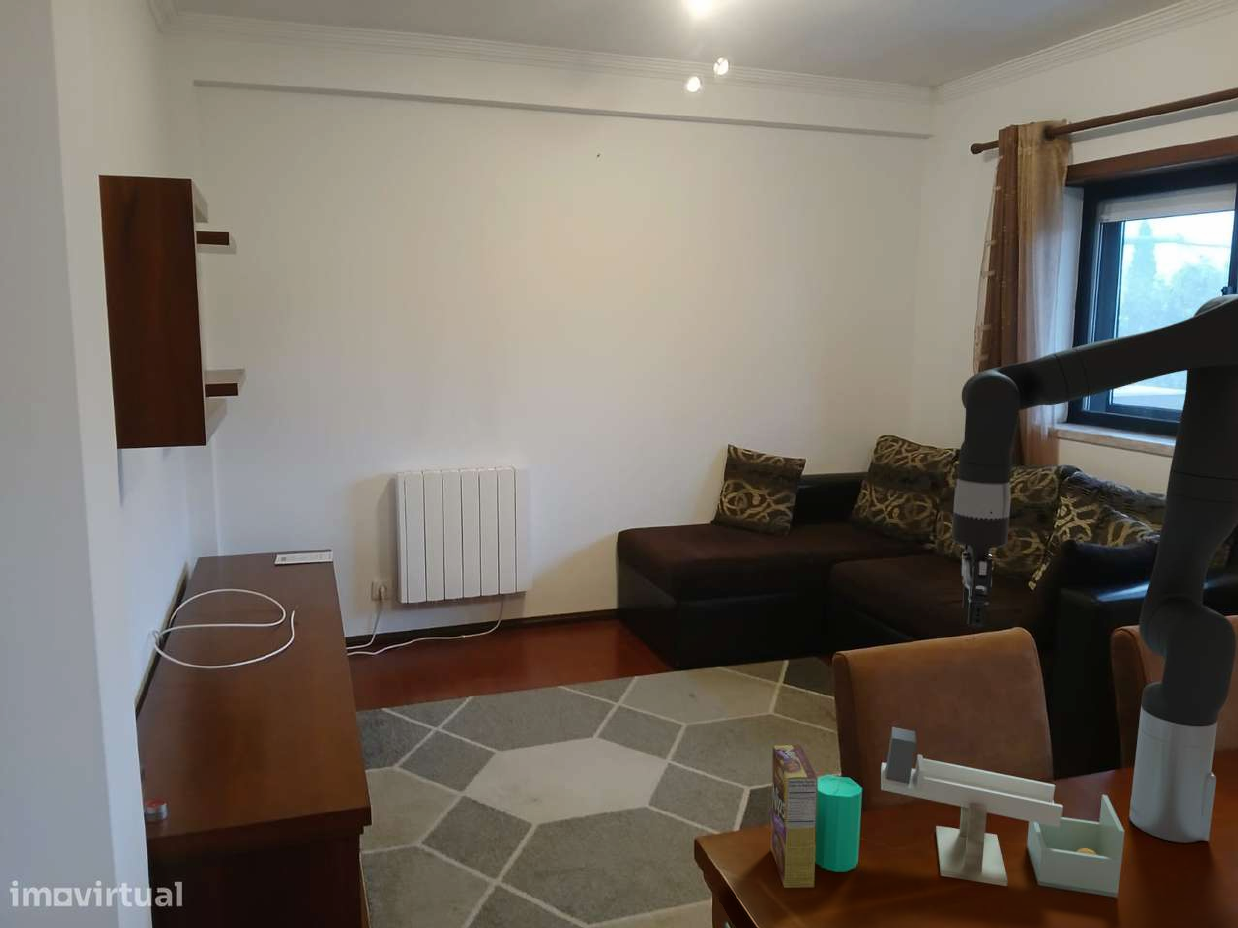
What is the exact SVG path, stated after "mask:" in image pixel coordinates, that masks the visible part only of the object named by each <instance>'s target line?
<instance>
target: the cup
mask: <svg viewBox="0 0 1238 928" xmlns="http://www.w3.org/2000/svg"><path fill="white" fill-rule="evenodd" d="M1100 802H1101V804H1100V812H1099V821H1098V822H1097V821H1093V820H1086V819H1078V818H1073V817H1072V818H1071V817H1065V816H1061V820H1060V826H1059V827H1055V826H1050V825H1045V824H1040V823H1036V822H1031V821H1028V834H1027V841H1026V843H1027V844H1026V847H1027V850H1028V855H1029V858H1030V861H1031V866H1032V868H1033V872H1034V875H1035V878H1036V882H1037V886H1042V887H1048V888H1053V889H1060V890H1066V891H1072V892H1079V893H1086V894H1091V895H1092V894H1093V895H1098V896H1104V897H1110V898H1114V899H1118V897H1119V895H1118V894H1119V887H1120V878H1121V869H1122V867H1121V866H1122V861H1123V860H1122V858H1123V851H1124V849H1123V848H1124V841H1125V830H1124V828H1123V826H1122V824H1121V821H1120V819H1119V817H1118V815H1117V813H1116V810H1115V809H1114V807H1113V805H1112V802H1111V801H1110V798H1109V796H1108V795H1107V794H1101V801H1100ZM1082 848H1088V849H1091V850H1093V851H1094V852H1095V853H1096V854H1097V855H1093V854H1086V853H1079V852H1077V851H1078V850H1079V849H1082Z"/></svg>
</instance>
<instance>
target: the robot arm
mask: <svg viewBox="0 0 1238 928" xmlns="http://www.w3.org/2000/svg"><path fill="white" fill-rule="evenodd" d="M1185 371H1186V381H1185V385H1186V386H1185V393H1184V400H1183V404H1182V406H1183V407H1182V409H1181V414H1180V419H1179V423H1178V427H1177V434H1176V439H1175V444H1174V451H1173V455H1172V461H1171V464H1170V469H1169V475H1168V482H1167V487H1166V488H1167V489H1166V492H1165V493H1166V495H1165V504H1164V512H1163V517H1162V522H1161V528H1160V534H1159V539H1158V545H1157V551H1156V556H1155V562H1154V564H1153V568H1152V573H1151V575H1150V579H1149V583H1148V584H1147V585H1148V586H1147V590H1146V593H1145V595H1144V596H1145V597H1144V599H1143V603H1142V607H1141V611H1140V615H1139V620H1138V621H1139V622H1138V626H1139V627H1138V629H1139V635H1140V639H1141V640H1142V642H1143V643H1144V645H1145V647H1146V648H1147V649H1149V650H1150V651H1151V652H1152V653H1153V654H1155V655H1157V656H1159V658H1161V659H1163V660H1164V667H1163V673H1162V678H1161V681H1157V682H1156V681H1155V682H1151V683H1149V684H1147V685H1146V686H1145V687H1144V689H1143V690H1142V695H1141V696H1142V697H1141V707H1140V714H1139V723H1138V724H1139V725H1138V732H1137V734H1138V735H1137V740H1136V741H1137V744H1136V751H1135V761H1134V771H1133V779H1132V787H1131V797H1130V804H1129V807H1130V809H1129V815H1128V816H1129V820H1130V821H1131V823H1132V824H1133V825H1134V826H1135V827H1136V828H1138V829H1139V830H1140V831H1142V832H1144V833H1146V834H1148V835H1151V836H1153V837H1155V838H1158V839H1162V840H1165V841H1169V842H1170V841H1171V842H1175V843H1176V842H1177V843H1185V844H1186V843H1194V842H1198V841H1205V842H1209V840H1210V833H1211V832H1210V831H1211V827H1212V826H1211V823H1212V816H1213V809H1214V800H1215V792H1216V784H1217V776H1216V775H1215V774H1214V773H1213V771H1212V767H1213V759H1214V752H1215V744H1216V734H1217V729H1218V728H1217V727H1218V720H1219V719H1218V718H1219V713H1220V710H1221V709H1222V708H1223V706H1224V705H1225V704H1226V701H1227V700H1228V695H1229V691H1230V686H1231V680H1232V677H1233V676H1232V674H1233V671H1234V665H1235V659H1236V652H1237V651H1236V650H1237V638H1236V637H1237V636H1236V632H1235V628H1234V627H1233V624H1232V623H1231V621H1230V620H1229V619H1228V618H1227V617H1226V616H1225V615H1223V614H1221V613H1219V612H1218V611H1216V610H1214V609H1212V608H1210V607H1209V606H1206V605H1204V603H1203V602H1204V590H1205V589H1204V588H1205V585H1206V578H1207V573H1208V570H1209V567H1210V563H1211V561H1212V559H1213V557H1214V556H1215V554H1216V553H1217V552H1218V550H1219V549H1220V548H1221V547H1222V545H1223V543H1225V541H1226V540H1227V539H1228V538H1229V536H1230V535H1231V533H1232V532H1233V531H1234V529H1235V528H1236V527H1237V525H1238V293H1232V294H1225V295H1224V294H1223V295H1220V296H1219V295H1218V296H1215V297H1213V298H1211V299H1209V300H1208V301H1206V302H1205V303H1203V304H1202V305H1201V306H1200V307H1199V308H1198V309H1197V311H1195V313H1194V315H1193V316H1191V317H1189V318H1187V319H1184V320H1181V321H1179V322H1175V323H1174V324H1173V323H1172V324H1170V325H1166V326H1163V327H1160V328H1159V327H1158V328H1155V329H1151V330H1148V331H1144V332H1139V333H1135V334H1130V335H1124V336H1120V337H1119V336H1118V337H1114V338H1109V339H1103V340H1099V341H1098V340H1097V341H1094V342H1090V343H1087V344H1086V343H1085V344H1083V345H1079V346H1075V347H1071V348H1067V349H1063V350H1061V351H1057V352H1054V353H1050V354H1047V355H1044V356H1042V357H1039V358H1036V359H1033V360H1029V361H1025V362H1019V363H1015V364H1009V365H1004V366H1001V367H1000V366H999V367H995V368H991V369H987V370H984V371H980V372H978V373H976V374H973V375H972V376H971V377H970V378H969V379H968V380H967V381H966V382H965V384H964V385H963V387H962V391H961V401H962V404H963V407H964V409H965V423H964V438H963V442H962V443H961V446H960V451H959V458H958V471H957V473H958V474H957V479H956V480H957V481H956V487H955V490H954V491H955V492H954V498H953V499H954V500H953V512H952V513H953V515H952V525H951V526H952V528H951V539H952V541H953V542H955V544H958V545H962V546H964V548H963V552H962V555H961V576H962V579H961V581H962V583H963V594H962V595H963V597H962V609H963V611H966V612H968V616H967V617H968V618H967V626H968V627H969V629H974V630H983V629H985V627H986V615H987V614H986V613H987V605H989V604H990V602H992V597H991V592H992V591H991V590H992V585H993V569H994V563H995V561H994V558H992V554H990V550H991V549H993V548H995V549H998V548H999V549H1000V548H1002V547H1005V546H1006V545H1007V543H1008V535H1009V523H1010V509H1011V500H1012V499H1011V498H1012V497H1011V496H1012V495H1011V474H1012V461H1013V460H1012V459H1013V455H1012V454H1013V444H1014V440H1015V436H1016V430H1017V427H1018V426H1017V425H1018V420H1019V414H1020V411H1022V410H1026V409H1031V408H1034V407H1038V406H1055V405H1060V404H1064V403H1068V402H1072V401H1077V400H1080V399H1084V398H1087V397H1091V396H1094V395H1098V394H1102V393H1106V392H1108V391H1111V390H1115V389H1119V388H1121V387H1126V386H1129V385H1132V384H1136V383H1139V382H1143V381H1146V380H1150V379H1154V378H1158V377H1161V376H1166V375H1170V374H1175V373H1180V372H1185ZM981 590H982V591H983V594H982V593H981Z"/></svg>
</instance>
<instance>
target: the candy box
mask: <svg viewBox="0 0 1238 928" xmlns="http://www.w3.org/2000/svg"><path fill="white" fill-rule="evenodd" d="M771 761H772V762H771V763H772V766H771V767H772V769H771V770H772V775H771V776H772V777H771V817H770V818H771V819H770V822H771V825H770V826H771V827H770V833H771V834H770V836H771V837H770V850H771V853H772V855H773V858H774V861H775V863H776V867H777V869H778V874H779V875H780V878H781V882H782V885H783V888H784V889H806V888H807V889H812V888H814V887H815V876H816V875H815V874H816V873H815V868H816V863H815V849H816V819H817V787H818V779H819V777H818V775H817V773H816V772H815V770H814V769H813V767H812V764H811V762H810V761H809V759H808V757H807V755H806V753H805V750H804V748H803V747H802V745H801V744H798V745H796V744H795V745H794V744H792V745H788V744H787V745H773V746H772V760H771Z"/></svg>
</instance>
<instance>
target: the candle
mask: <svg viewBox="0 0 1238 928" xmlns="http://www.w3.org/2000/svg"><path fill="white" fill-rule="evenodd" d="M862 795H863V787H861V786H860V785H859V784H858V783H857V782H855V781H854V780H853V779H851V778H850V777H843V776H841V774H838V776H834V775H829V774H825V775H824V776H822V777H820V778H819V777H818V787H817V819H816V849H815V864H817V865H818V866H819V865H820V866H819V867H821V868H823V869H824V868H825V869H824V870H828V871H832V872H835V873H836V872H848V871H851V870H853V869H855V868H856V867H857V864H858V862H859V847H860V833H861V832H860V831H861V816H862V815H861V814H862V813H861V812H862V797H863V796H862Z"/></svg>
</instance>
